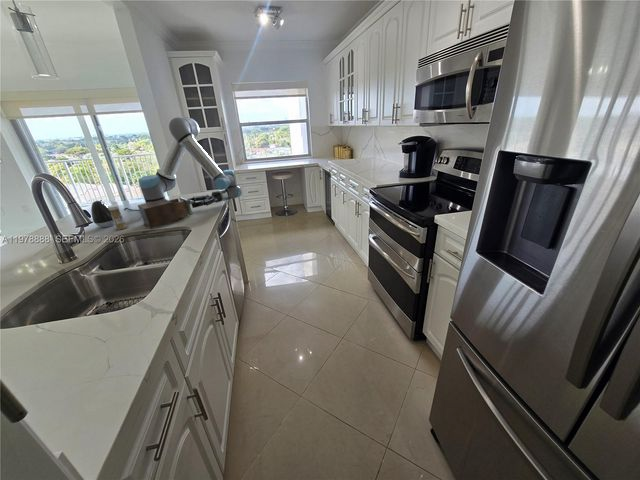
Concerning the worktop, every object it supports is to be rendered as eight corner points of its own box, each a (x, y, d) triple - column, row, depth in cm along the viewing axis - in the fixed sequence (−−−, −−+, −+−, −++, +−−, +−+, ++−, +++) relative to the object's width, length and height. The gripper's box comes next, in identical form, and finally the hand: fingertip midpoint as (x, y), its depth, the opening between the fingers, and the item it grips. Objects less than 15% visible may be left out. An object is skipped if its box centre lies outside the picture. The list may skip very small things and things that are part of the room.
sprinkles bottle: (123, 229, 144) (114, 206, 138) (115, 230, 144) (105, 207, 138) (128, 226, 148) (119, 204, 143) (119, 227, 148) (110, 205, 142)
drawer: (192, 209, 169) (188, 195, 164) (199, 213, 161) (195, 198, 157) (162, 217, 157) (157, 202, 153) (169, 221, 150) (164, 205, 146)
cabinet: (170, 216, 161) (164, 198, 156) (178, 221, 153) (172, 202, 148) (144, 223, 151) (137, 205, 146) (151, 228, 143) (144, 208, 138)
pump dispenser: (120, 221, 158) (110, 197, 151) (114, 227, 149) (103, 201, 142) (101, 224, 155) (90, 199, 148) (93, 230, 146) (81, 204, 139)
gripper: (229, 204, 168) (197, 213, 154) (212, 198, 183) (181, 206, 170) (227, 193, 164) (194, 201, 151) (209, 188, 180) (178, 195, 166)
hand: (187, 203), depth 160 cm, fingers open, 13 cm apart
